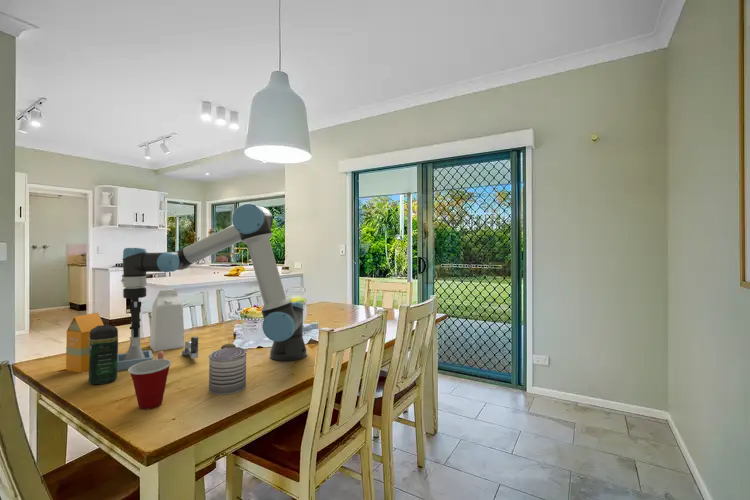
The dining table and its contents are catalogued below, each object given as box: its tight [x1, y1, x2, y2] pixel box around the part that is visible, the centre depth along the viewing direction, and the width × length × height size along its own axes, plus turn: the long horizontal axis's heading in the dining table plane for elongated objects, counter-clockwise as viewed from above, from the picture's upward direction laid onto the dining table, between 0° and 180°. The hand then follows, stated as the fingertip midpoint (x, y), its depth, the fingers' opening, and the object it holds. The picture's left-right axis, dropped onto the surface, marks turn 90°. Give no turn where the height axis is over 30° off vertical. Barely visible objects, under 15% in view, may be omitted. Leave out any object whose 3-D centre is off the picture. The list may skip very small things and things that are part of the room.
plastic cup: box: [127, 358, 172, 410], centre depth 107 cm, size 11×11×12 cm
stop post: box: [157, 350, 165, 359], centre depth 147 cm, size 2×2×4 cm
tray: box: [117, 349, 154, 372], centre depth 144 cm, size 12×12×3 cm
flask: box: [124, 336, 145, 361], centre depth 144 cm, size 7×7×10 cm
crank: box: [184, 336, 199, 360], centre depth 153 cm, size 15×4×8 cm, turn 34°
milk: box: [149, 288, 185, 352], centre depth 169 cm, size 12×12×26 cm
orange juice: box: [65, 312, 105, 373], centre depth 138 cm, size 8×9×20 cm
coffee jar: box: [88, 324, 119, 385], centre depth 126 cm, size 10×8×19 cm
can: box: [208, 346, 248, 396], centre depth 121 cm, size 11×11×12 cm
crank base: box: [181, 349, 190, 357], centre depth 157 cm, size 6×6×2 cm
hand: (135, 342), depth 144 cm, fingers open, 13 cm apart
